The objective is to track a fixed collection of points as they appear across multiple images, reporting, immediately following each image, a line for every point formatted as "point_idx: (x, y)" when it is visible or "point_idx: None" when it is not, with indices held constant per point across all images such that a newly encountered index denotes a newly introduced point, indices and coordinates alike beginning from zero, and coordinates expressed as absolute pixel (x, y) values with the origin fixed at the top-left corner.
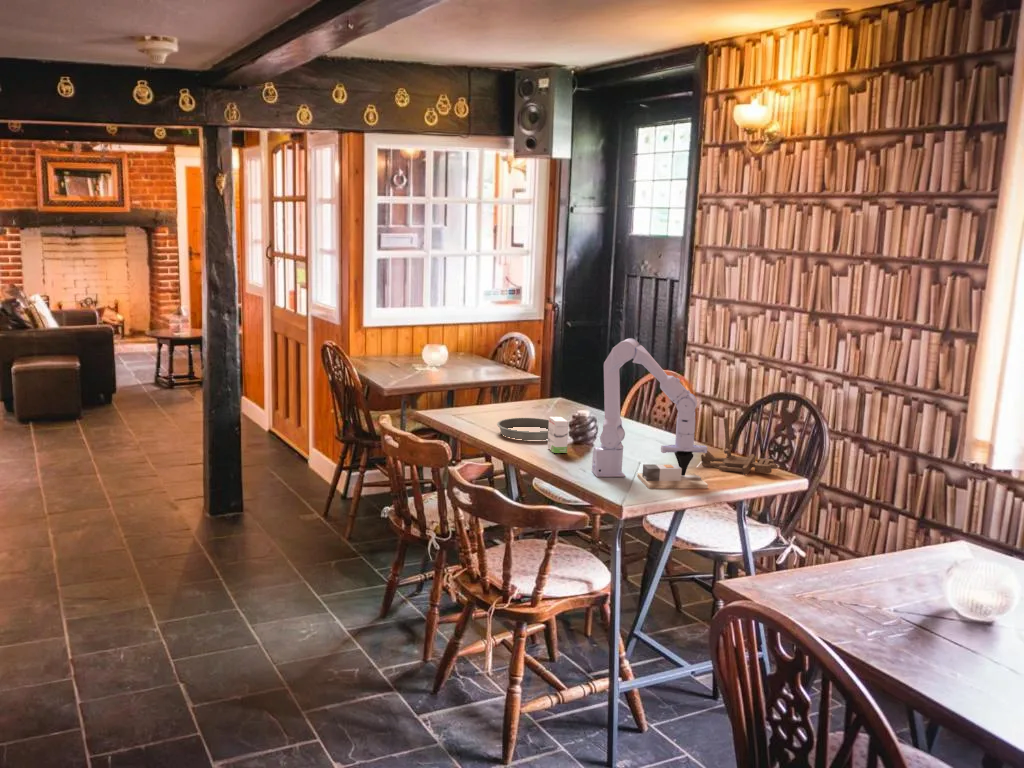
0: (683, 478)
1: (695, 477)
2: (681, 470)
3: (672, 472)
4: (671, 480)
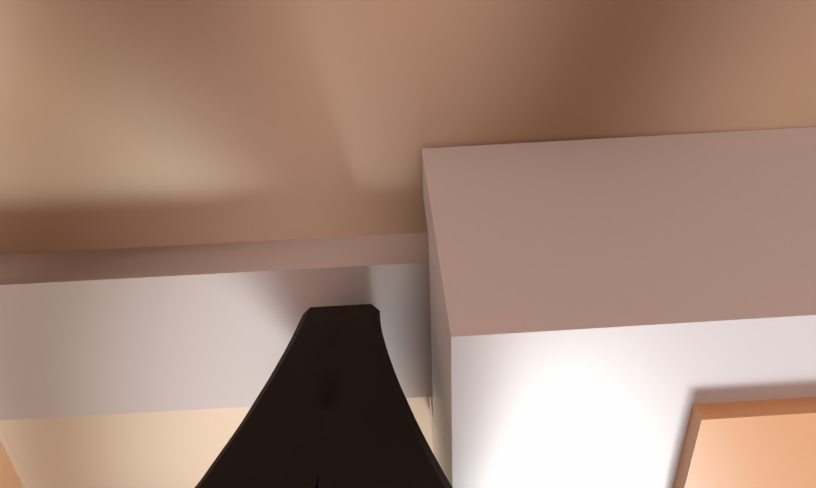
0: (339, 254)
1: (52, 282)
2: (449, 295)
3: (721, 242)
4: (652, 140)
